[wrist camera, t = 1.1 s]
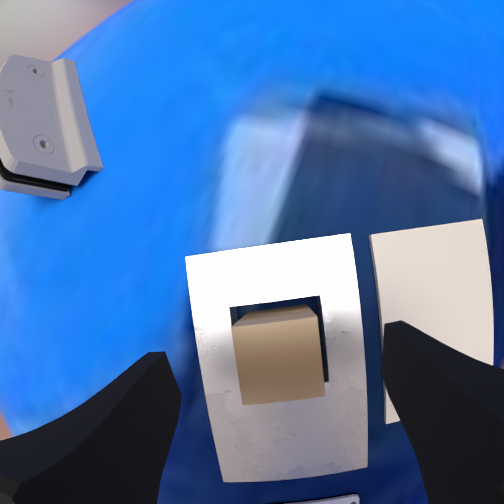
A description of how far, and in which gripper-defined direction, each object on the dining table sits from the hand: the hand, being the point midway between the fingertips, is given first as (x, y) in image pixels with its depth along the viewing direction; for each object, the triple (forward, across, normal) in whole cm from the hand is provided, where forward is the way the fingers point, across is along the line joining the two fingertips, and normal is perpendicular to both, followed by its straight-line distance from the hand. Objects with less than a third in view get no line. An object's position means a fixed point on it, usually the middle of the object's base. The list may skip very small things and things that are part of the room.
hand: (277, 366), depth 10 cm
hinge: (+19, +19, -14) cm, 30 cm away
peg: (+10, 0, +5) cm, 12 cm away
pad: (+10, -12, +6) cm, 17 cm away
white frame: (+9, 0, +7) cm, 12 cm away
